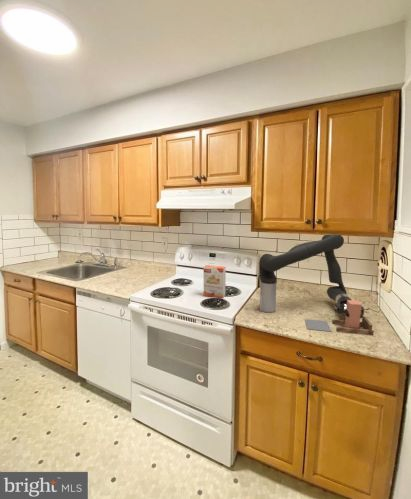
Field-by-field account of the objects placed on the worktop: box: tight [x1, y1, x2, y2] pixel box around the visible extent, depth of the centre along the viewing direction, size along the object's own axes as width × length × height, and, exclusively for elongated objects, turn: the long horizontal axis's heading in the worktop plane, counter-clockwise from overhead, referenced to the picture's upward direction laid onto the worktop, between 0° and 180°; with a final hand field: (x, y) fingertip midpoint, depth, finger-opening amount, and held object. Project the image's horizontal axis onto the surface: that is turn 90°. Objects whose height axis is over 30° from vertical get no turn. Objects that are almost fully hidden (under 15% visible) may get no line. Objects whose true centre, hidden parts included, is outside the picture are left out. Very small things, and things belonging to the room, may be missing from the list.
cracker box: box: [203, 264, 227, 299], centre depth 172 cm, size 14×6×21 cm, turn 69°
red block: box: [344, 299, 363, 329], centre depth 127 cm, size 5×5×14 cm
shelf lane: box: [331, 315, 375, 336], centre depth 128 cm, size 16×9×5 cm, turn 77°
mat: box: [304, 318, 333, 333], centre depth 132 cm, size 11×11×1 cm
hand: (354, 315), depth 124 cm, fingers closed on red block, 5 cm apart
